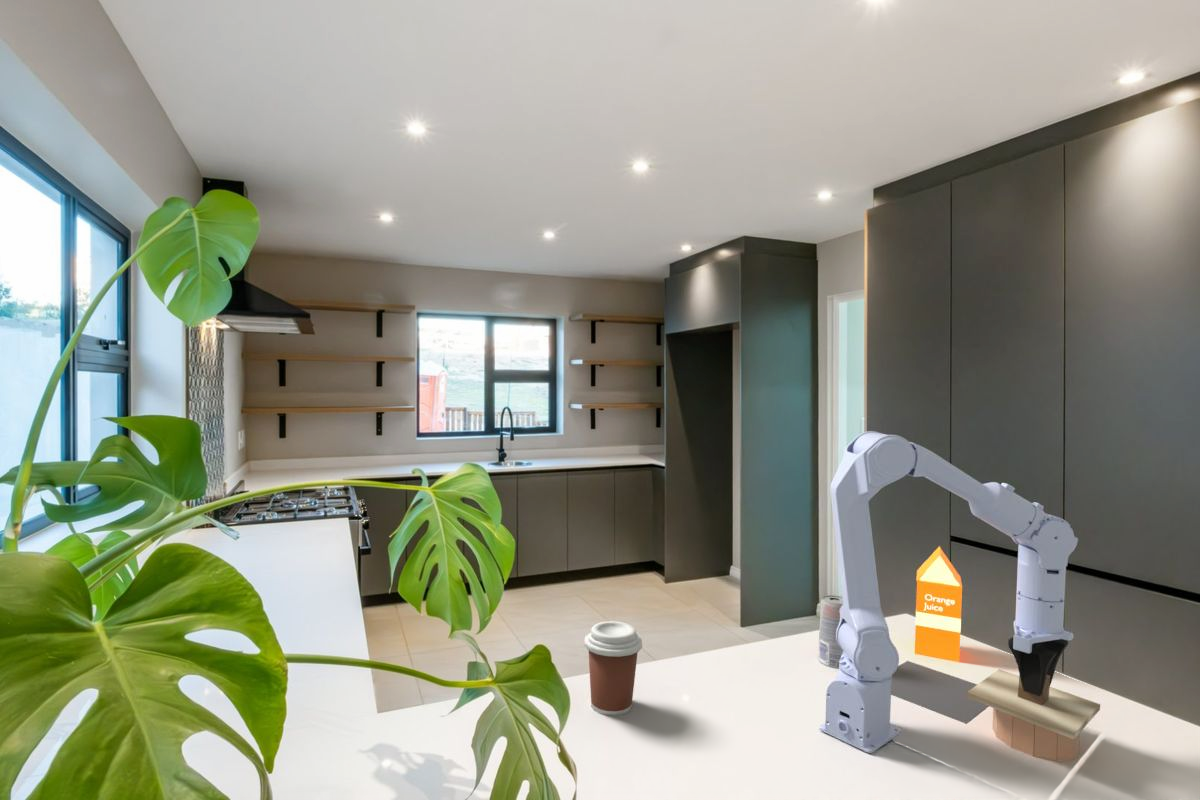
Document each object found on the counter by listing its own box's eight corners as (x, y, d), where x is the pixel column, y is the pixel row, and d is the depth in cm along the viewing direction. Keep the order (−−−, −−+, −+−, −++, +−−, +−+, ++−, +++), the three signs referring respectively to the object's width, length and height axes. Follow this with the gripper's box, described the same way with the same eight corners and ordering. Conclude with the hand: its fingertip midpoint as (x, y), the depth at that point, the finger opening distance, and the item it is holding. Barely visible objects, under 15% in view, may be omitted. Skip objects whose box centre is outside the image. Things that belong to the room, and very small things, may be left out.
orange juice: (958, 648, 127) (961, 548, 127) (960, 664, 119) (964, 558, 119) (914, 640, 131) (917, 542, 130) (913, 655, 123) (917, 552, 122)
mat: (966, 726, 97) (966, 723, 97) (864, 686, 109) (864, 684, 109) (1004, 696, 107) (1004, 693, 107) (907, 662, 119) (907, 660, 119)
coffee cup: (587, 722, 95) (590, 641, 94) (577, 693, 104) (580, 619, 103) (647, 717, 96) (649, 638, 96) (632, 689, 105) (634, 617, 105)
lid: (1073, 739, 84) (1076, 707, 83) (966, 697, 93) (968, 668, 93) (1099, 709, 92) (1102, 680, 92) (998, 674, 102) (1000, 647, 102)
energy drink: (844, 659, 120) (847, 595, 120) (853, 671, 115) (855, 605, 115) (815, 657, 121) (817, 594, 120) (822, 669, 115) (824, 603, 115)
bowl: (1065, 771, 85) (1066, 734, 85) (982, 739, 93) (984, 705, 93) (1086, 746, 92) (1087, 712, 92) (1007, 718, 100) (1008, 686, 99)
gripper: (1057, 614, 84) (1053, 716, 85) (1087, 594, 94) (1084, 685, 94) (997, 599, 90) (994, 695, 90) (1032, 582, 99) (1028, 668, 99)
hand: (1036, 689), depth 92 cm, fingers closed on lid, 3 cm apart
